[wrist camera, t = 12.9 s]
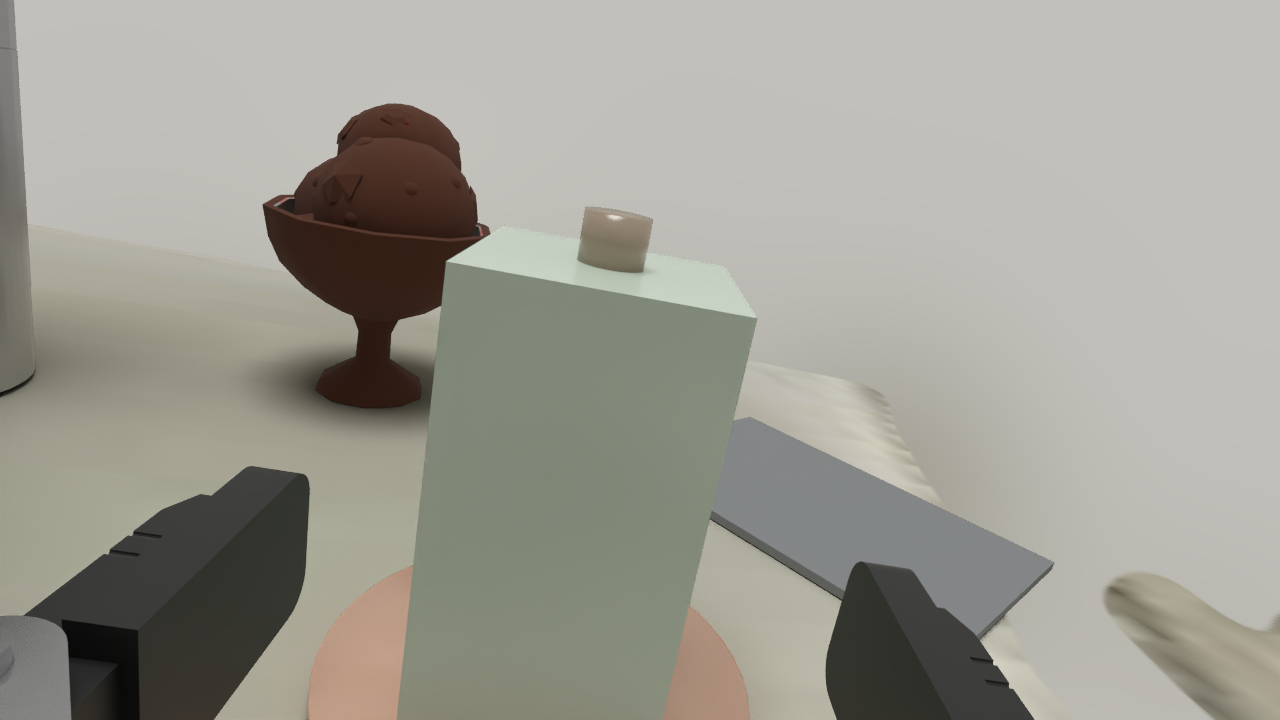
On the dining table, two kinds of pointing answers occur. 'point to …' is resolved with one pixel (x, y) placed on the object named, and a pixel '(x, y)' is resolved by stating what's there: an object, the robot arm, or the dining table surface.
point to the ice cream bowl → (378, 239)
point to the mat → (863, 527)
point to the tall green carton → (568, 473)
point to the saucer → (374, 647)
